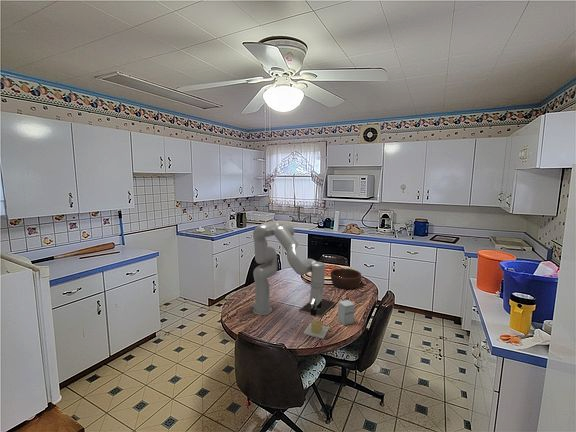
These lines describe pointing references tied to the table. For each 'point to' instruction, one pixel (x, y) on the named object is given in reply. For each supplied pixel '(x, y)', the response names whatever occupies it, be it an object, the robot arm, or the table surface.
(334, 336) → the table surface
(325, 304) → the hardcover book
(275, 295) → the table surface
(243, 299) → the table surface
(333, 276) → the wooden bowl
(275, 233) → the robot arm
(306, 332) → the mat
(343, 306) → the supplement box
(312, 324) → the ochre cube
